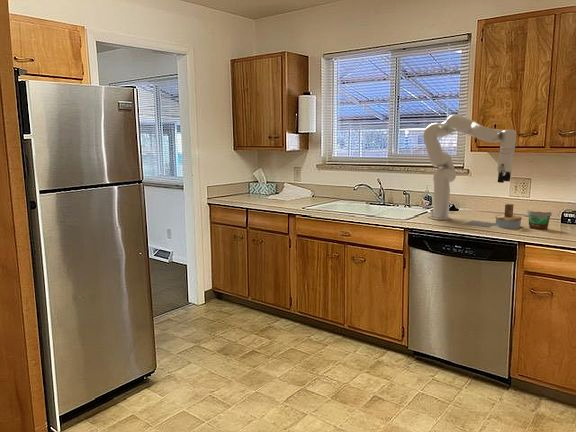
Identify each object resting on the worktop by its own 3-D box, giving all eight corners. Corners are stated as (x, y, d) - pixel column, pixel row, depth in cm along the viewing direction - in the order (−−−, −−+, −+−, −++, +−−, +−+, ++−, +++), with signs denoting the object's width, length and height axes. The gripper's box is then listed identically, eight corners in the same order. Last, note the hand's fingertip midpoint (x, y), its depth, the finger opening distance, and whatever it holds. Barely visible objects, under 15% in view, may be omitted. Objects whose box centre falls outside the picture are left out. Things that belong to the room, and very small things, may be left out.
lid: (491, 218, 268) (492, 204, 267) (500, 215, 278) (501, 202, 277) (517, 221, 259) (518, 207, 258) (524, 218, 269) (525, 204, 267)
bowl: (493, 227, 269) (493, 218, 268) (500, 224, 278) (501, 216, 277) (515, 230, 261) (516, 221, 260) (522, 227, 270) (522, 218, 269)
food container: (524, 228, 265) (525, 211, 263) (526, 227, 270) (527, 209, 268) (549, 231, 258) (551, 213, 257) (550, 229, 263) (552, 211, 262)
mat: (462, 225, 276) (462, 224, 276) (472, 221, 287) (472, 220, 287) (488, 228, 266) (488, 227, 266) (497, 224, 277) (497, 223, 277)
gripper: (505, 151, 275) (502, 180, 278) (494, 151, 263) (491, 182, 266) (519, 151, 270) (515, 181, 273) (508, 152, 258) (505, 183, 261)
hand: (503, 181), depth 270 cm, fingers open, 9 cm apart
